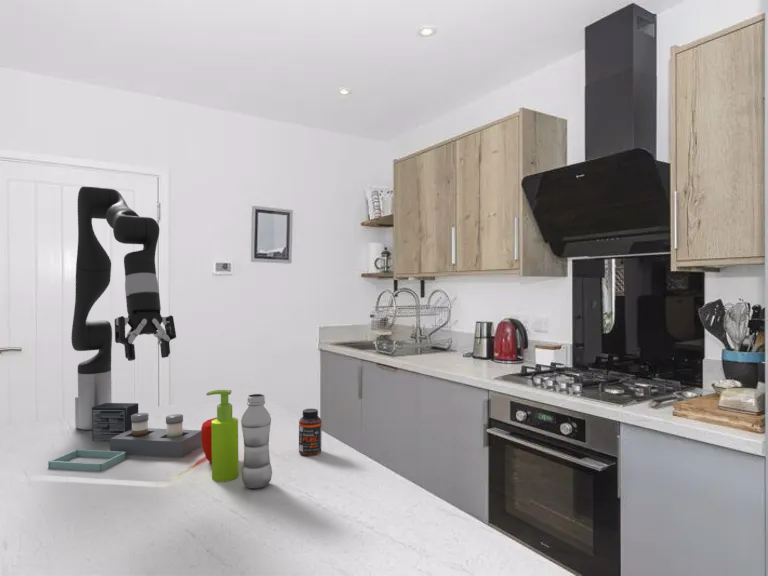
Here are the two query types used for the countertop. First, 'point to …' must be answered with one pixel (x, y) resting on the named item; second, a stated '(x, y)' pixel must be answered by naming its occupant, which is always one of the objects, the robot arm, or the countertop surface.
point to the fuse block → (159, 440)
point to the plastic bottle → (256, 443)
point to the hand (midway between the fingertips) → (148, 358)
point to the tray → (61, 463)
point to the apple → (207, 439)
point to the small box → (112, 420)
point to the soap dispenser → (224, 440)
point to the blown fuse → (139, 424)
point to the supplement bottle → (310, 433)
